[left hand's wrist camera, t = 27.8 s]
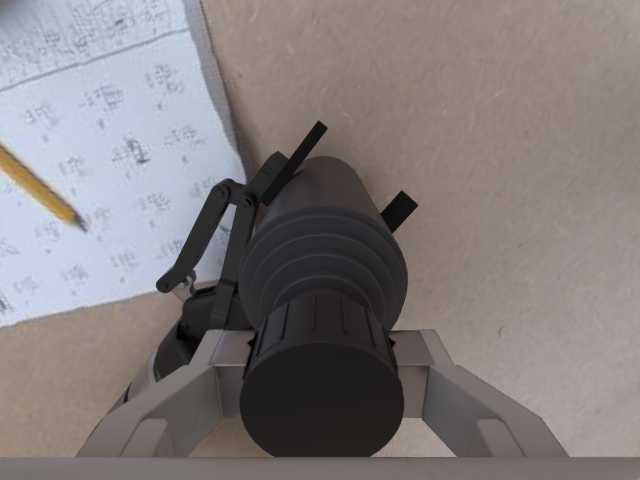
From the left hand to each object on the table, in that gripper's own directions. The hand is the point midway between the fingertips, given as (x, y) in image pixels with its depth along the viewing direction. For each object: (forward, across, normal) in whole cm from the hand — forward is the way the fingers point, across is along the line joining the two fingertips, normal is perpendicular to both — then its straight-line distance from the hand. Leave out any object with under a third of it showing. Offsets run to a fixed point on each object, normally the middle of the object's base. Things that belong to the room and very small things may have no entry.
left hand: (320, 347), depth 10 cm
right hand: (+15, -3, -4) cm, 16 cm away
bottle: (+22, 0, 0) cm, 22 cm away
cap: (-2, 0, 0) cm, 2 cm away
